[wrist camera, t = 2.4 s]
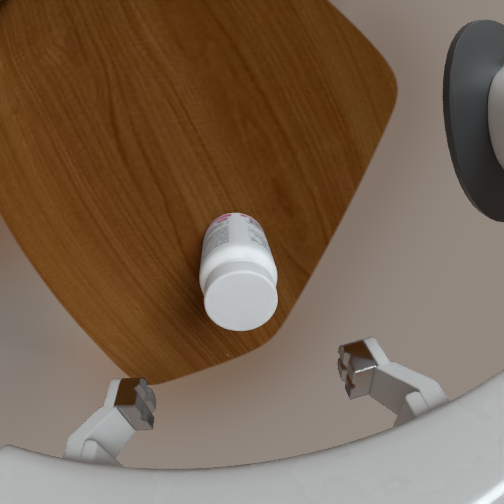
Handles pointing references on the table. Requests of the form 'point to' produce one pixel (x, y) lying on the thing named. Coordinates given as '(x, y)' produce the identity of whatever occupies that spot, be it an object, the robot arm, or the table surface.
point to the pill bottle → (237, 273)
